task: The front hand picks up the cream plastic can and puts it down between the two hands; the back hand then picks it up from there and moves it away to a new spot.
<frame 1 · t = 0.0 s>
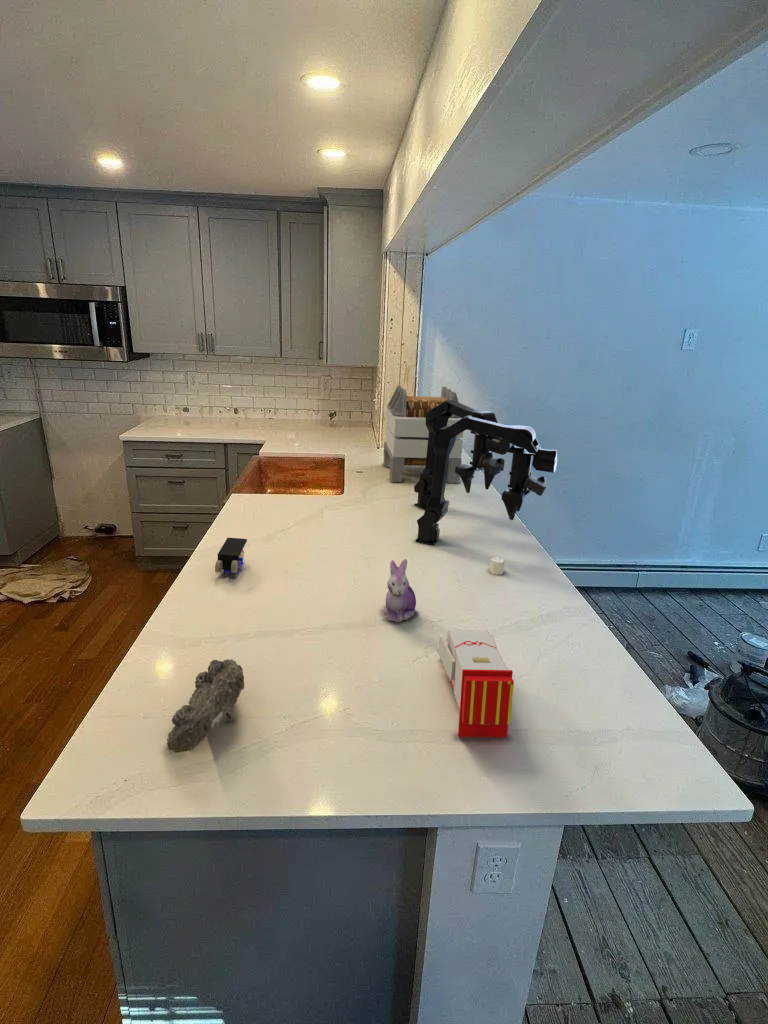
front hand: (514, 515, 180), 15 cm above the counter, tool pointing down, fingers open, 9 cm apart
back hand: (477, 491, 202), 15 cm above the counter, tool pointing down, fingers open, 9 cm apart
figurine: (399, 614, 147), on the counter
figurine character: (232, 569, 168), on the counter
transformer: (419, 473, 275), on the counter
fossil: (212, 717, 108), on the counter
can: (496, 571, 174), on the counter
toy: (469, 691, 119), on the counter
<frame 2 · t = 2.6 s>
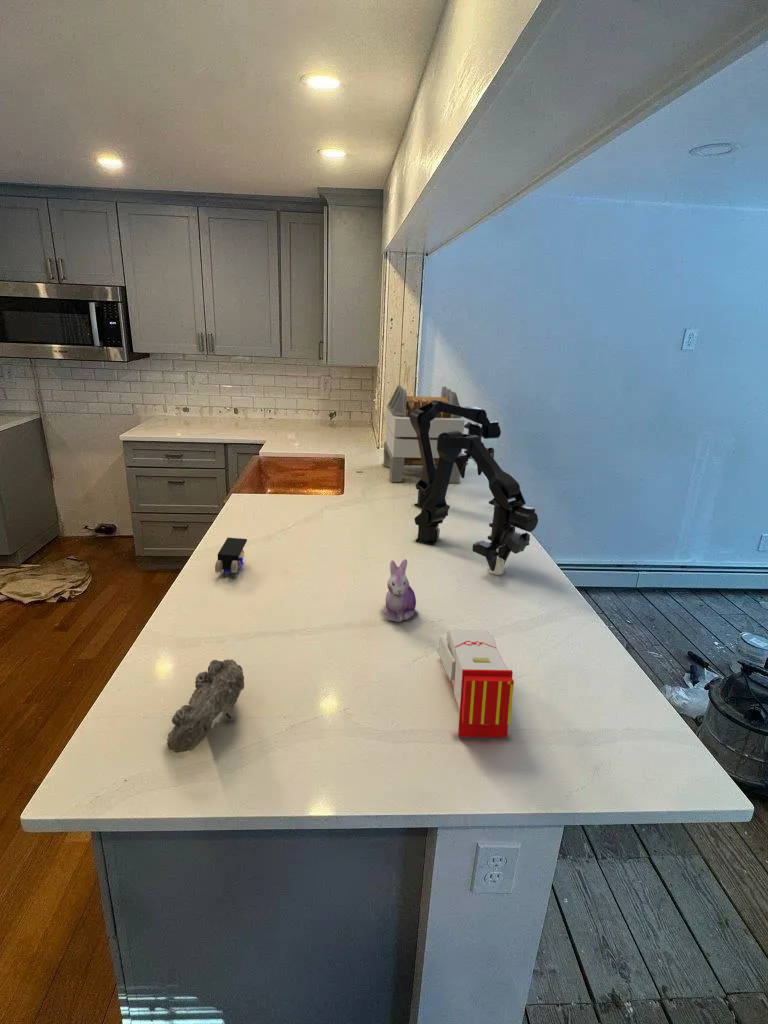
front hand: (496, 568, 174), 1 cm above the counter, tool pointing down, fingers closed on can, 4 cm apart
back hand: (471, 476, 233), 11 cm above the counter, tool pointing down, fingers open, 9 cm apart
can: (496, 571, 174), on the counter, touching front hand
everything else where it was.
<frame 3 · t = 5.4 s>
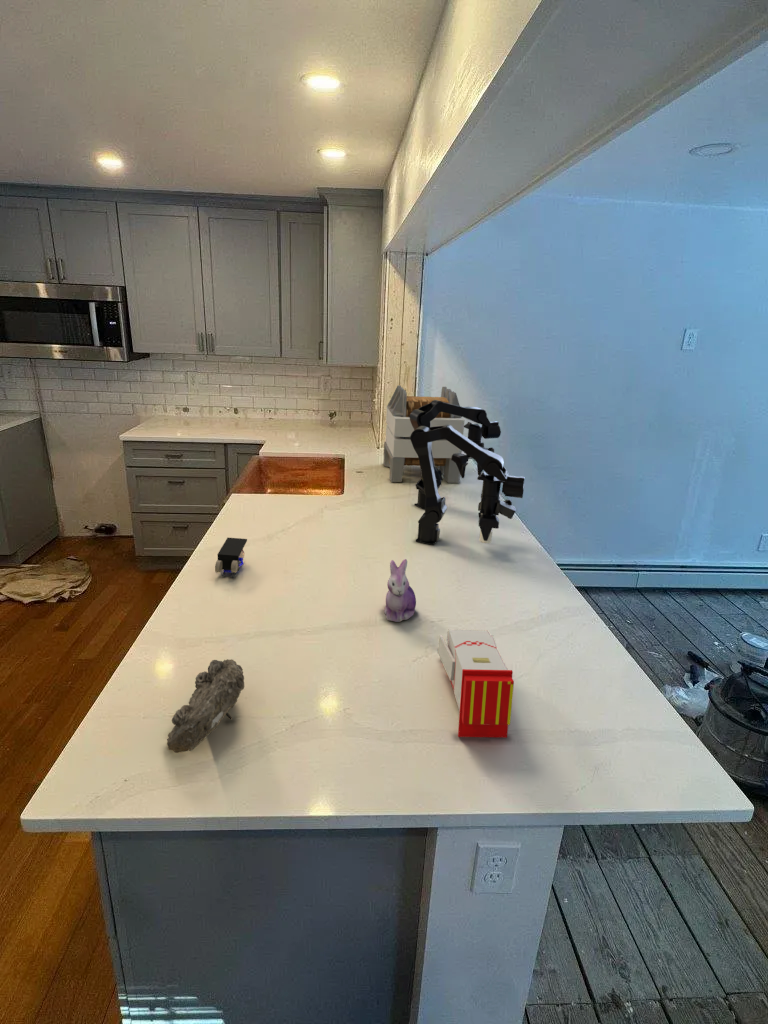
front hand: (485, 538, 189), 4 cm above the counter, tool pointing down, fingers closed on can, 4 cm apart
back hand: (471, 476, 233), 11 cm above the counter, tool pointing down, fingers open, 9 cm apart
can: (485, 541, 189), point 3 cm above the counter, touching front hand
everything else where it was.
when the front hand's fingers open (2 cm above the counter, at t = 8.2 s): can drops 1 cm, on the counter.
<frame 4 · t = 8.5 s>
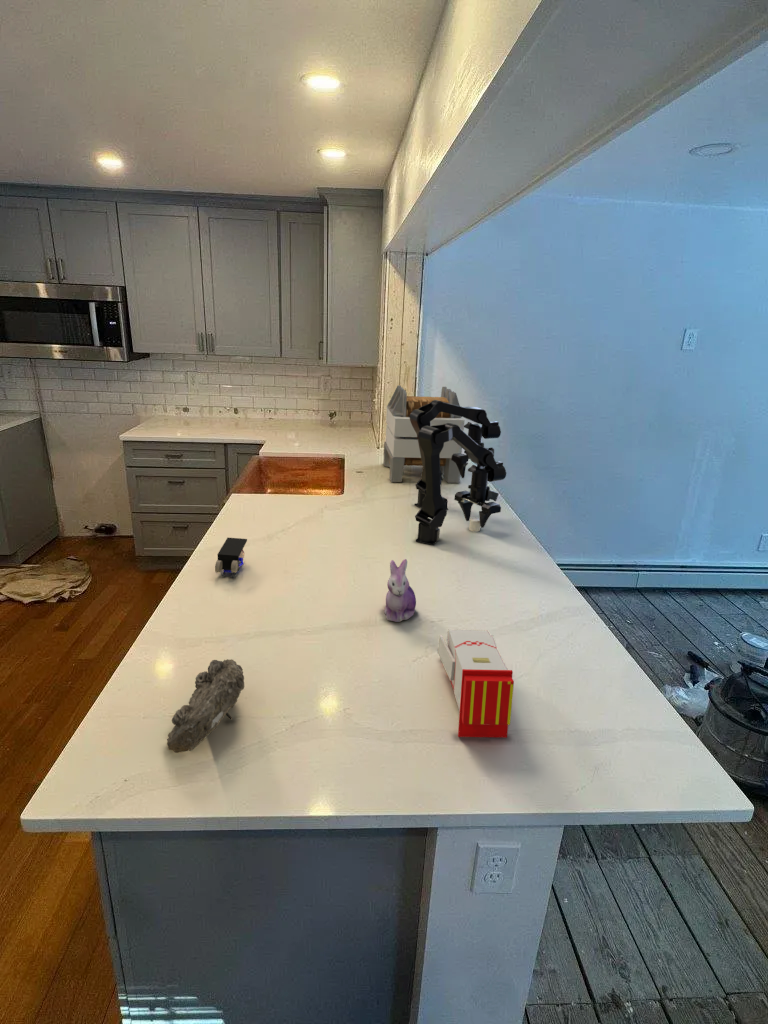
front hand: (474, 524, 206), 2 cm above the counter, tool pointing down, fingers open, 7 cm apart
back hand: (471, 476, 233), 11 cm above the counter, tool pointing down, fingers open, 9 cm apart
can: (474, 529, 207), on the counter
everything else where it was.
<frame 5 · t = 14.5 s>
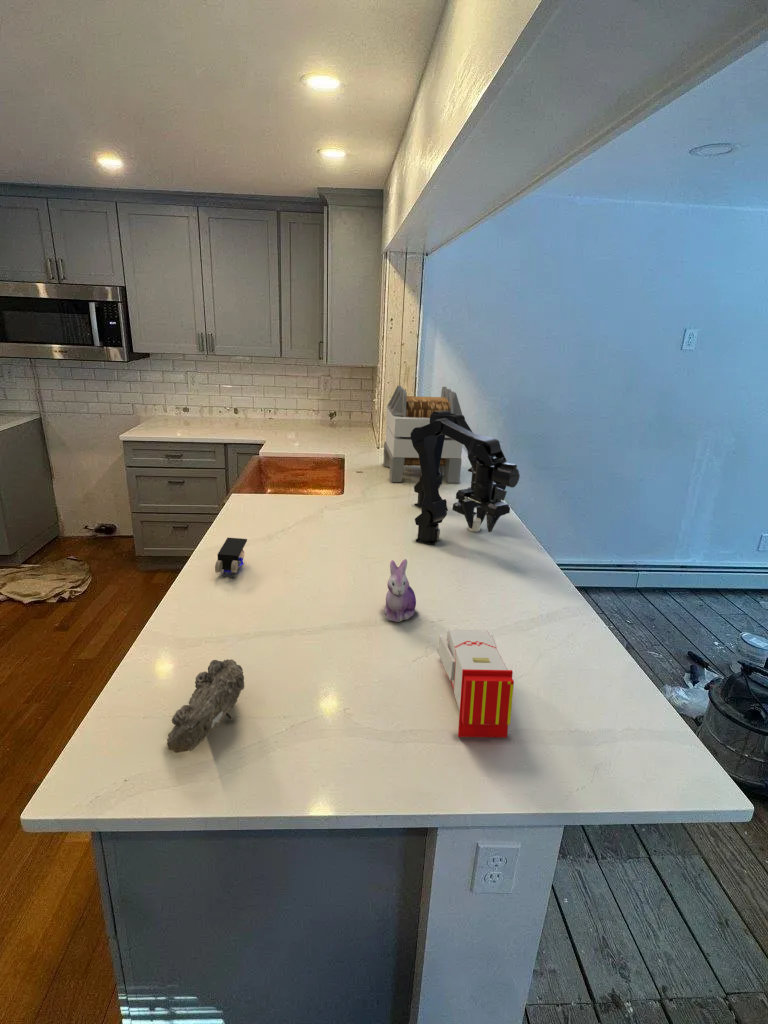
front hand: (479, 527, 178), 11 cm above the counter, tool pointing down, fingers open, 9 cm apart
back hand: (474, 527, 207), 1 cm above the counter, tool pointing down, fingers closed on can, 4 cm apart
can: (474, 529, 207), on the counter, touching back hand
everything else where it was.
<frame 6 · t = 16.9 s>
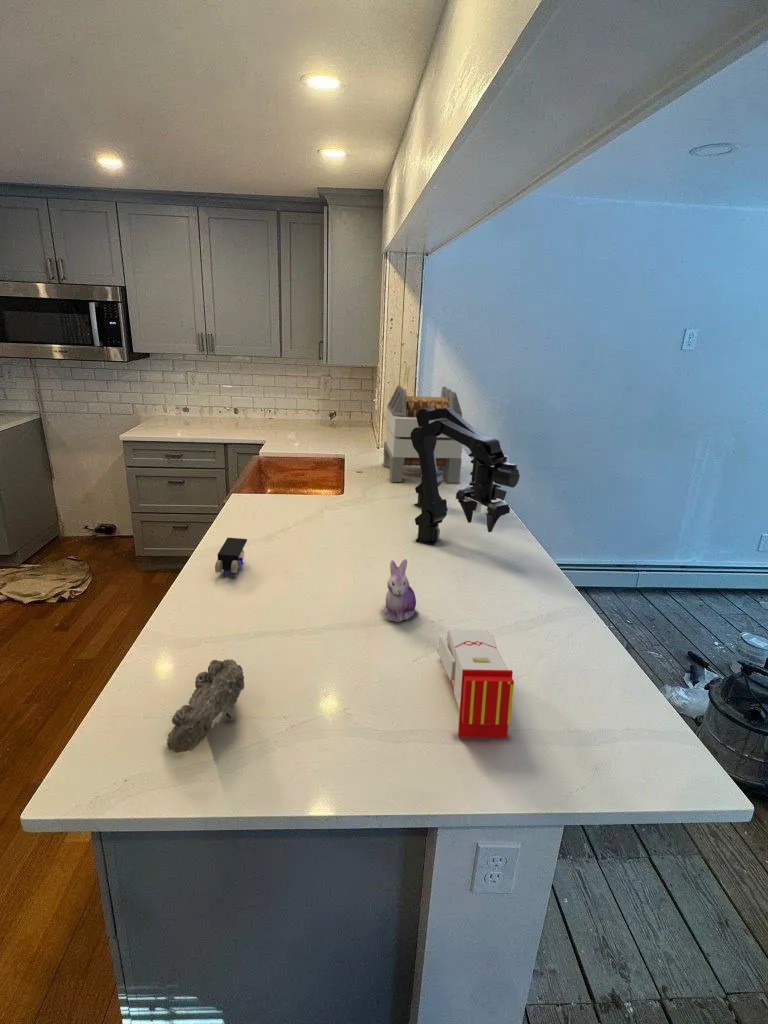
front hand: (479, 527, 178), 11 cm above the counter, tool pointing down, fingers open, 9 cm apart
back hand: (475, 508, 217), 4 cm above the counter, tool pointing down, fingers closed on can, 4 cm apart
can: (475, 511, 217), point 3 cm above the counter, touching back hand
everything else where it was.
when the back hand's fingers open (2 cm above the counter, at t = 19.2 s): can drops 1 cm, on the counter.
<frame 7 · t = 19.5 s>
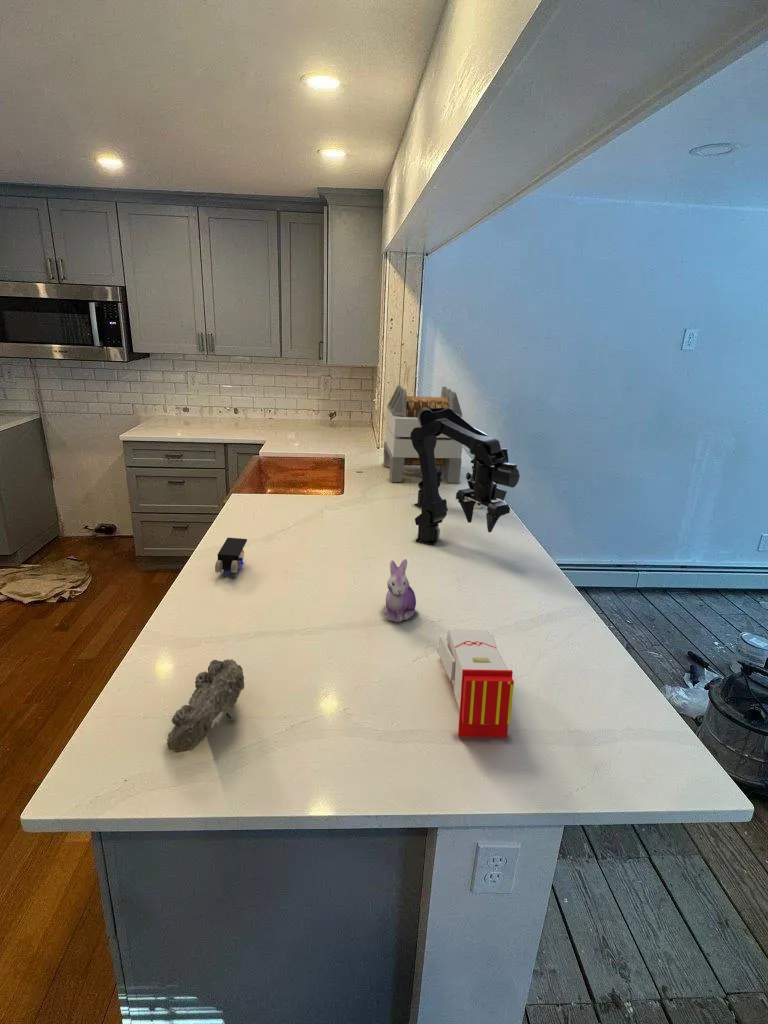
front hand: (479, 527, 178), 11 cm above the counter, tool pointing down, fingers open, 9 cm apart
back hand: (476, 502, 231), 2 cm above the counter, tool pointing down, fingers open, 7 cm apart
can: (476, 506, 231), on the counter
everything else where it was.
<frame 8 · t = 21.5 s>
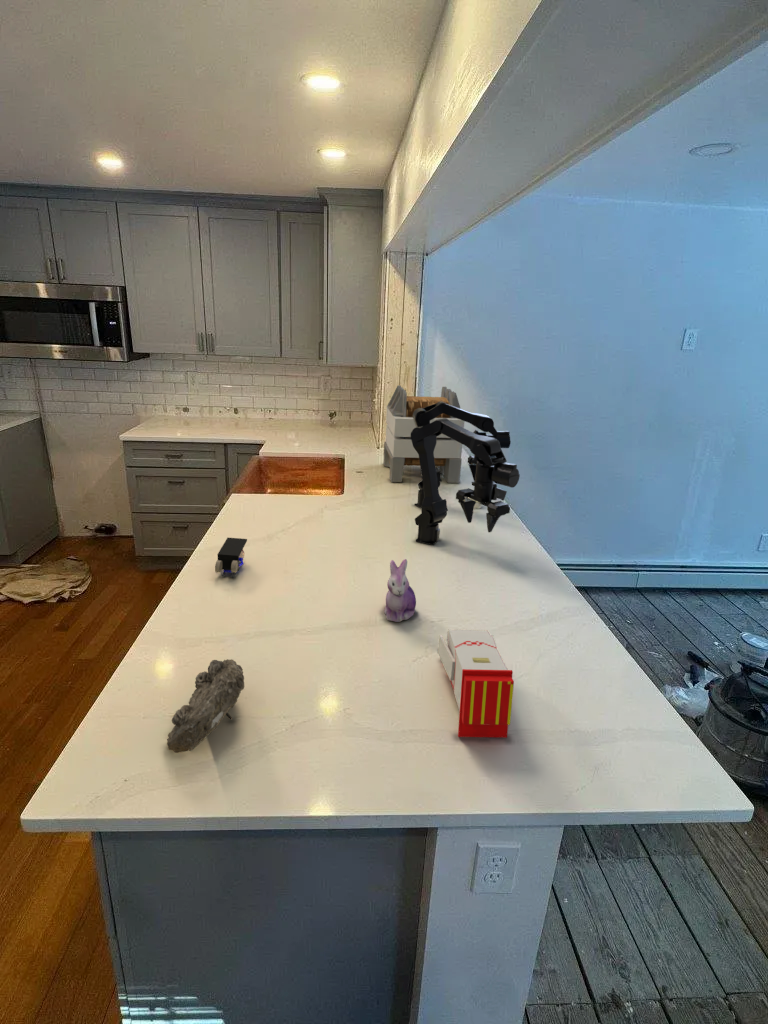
front hand: (479, 527, 178), 11 cm above the counter, tool pointing down, fingers open, 9 cm apart
back hand: (478, 485, 228), 9 cm above the counter, tool pointing down, fingers open, 9 cm apart
nothing on the counter moved.
at the end: can inside the target area (0.0 cm from its centre), on the counter; can tilted 0°; the two hands never held the can at the same time; the front hand is holding nothing; the back hand is holding nothing; can at rest at the end (0.0 cm/s) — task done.
